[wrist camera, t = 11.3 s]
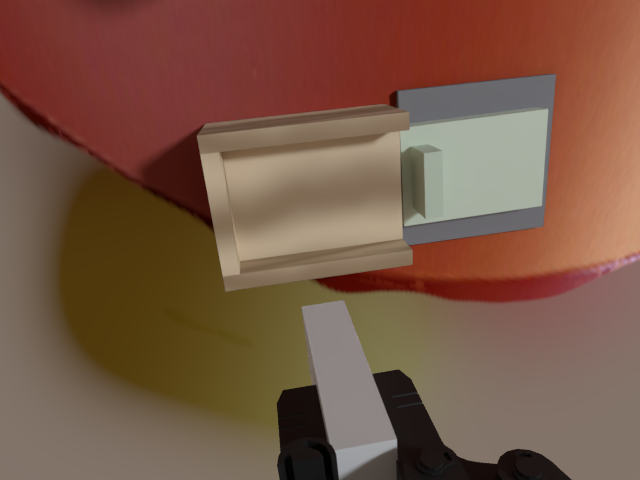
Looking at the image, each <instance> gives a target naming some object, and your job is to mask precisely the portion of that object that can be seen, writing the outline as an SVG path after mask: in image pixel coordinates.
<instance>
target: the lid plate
mask: <svg viewBox="0 0 640 480" xmlns="http://www.w3.org/2000/svg"><path fill="white" fill-rule="evenodd" d="M547 121H548V109H546V108H540V107H534V108H526V109H518V110H511V111H503V112H495V113H487V114H480V115H472V116H464V117H456V118H449V119H441V120H433V121H425V122H418V123H410V124H409V126H410V130H406V131H399V132H400V165H401V197H402V225H403V226H410V225H417V224H424V223H431V222H437V221H444V220H451V219H457V218H464V217H471V216H478V215H484V214H491V213H498V212H505V211H511V210H518V209H525V208H531V207H538V206H542V195H543V181H544V166H545V151H546V136H547Z"/></svg>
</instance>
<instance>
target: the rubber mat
mask: <svg viewBox="0 0 640 480" xmlns="http://www.w3.org/2000/svg"><path fill="white" fill-rule="evenodd" d="M555 80H556V74H547V75H537V76H528V77H519V78H510V79H500V80H491V81H482V82H473V83H463V84H454V85H445V86H436V87H426V88H417V89H408V90H398V91H396V105H397V108H399V109H402V110H405V111H408V112H409V124H410V123H418V122H425V121H433V120H441V119H449V118H456V117H464V116H472V115H480V114H487V113H495V112H503V111H511V110H518V109H526V108H534V107H540V108H546V109H548V121H547V136H546V151H545V166H544V181H543V195H542V206H538V207H531V208H525V209H518V210H511V211H505V212H498V213H491V214H484V215H478V216H471V217H464V218H457V219H451V220H444V221H437V222H431V223H424V224H417V225H410V226H403V225H402V229H403V240H404V241H405V242H406V243H407V244H408V245H414V244H422V243H429V242H436V241H443V240H450V239H457V238H465V237H472V236H479V235H486V234H493V233H500V232H508V231H515V230H522V229H529V228H536V227H543V224H544V212H545V200H546V188H547V176H548V164H549V152H550V140H551V128H552V116H553V104H554V92H555Z"/></svg>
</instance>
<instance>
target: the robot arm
mask: <svg viewBox="0 0 640 480" xmlns="http://www.w3.org/2000/svg"><path fill="white" fill-rule="evenodd" d="M302 313H303V320H304V328H305V336H306V344H307V352H308V360H309V368H310V374H311V379H312V384H313V385H312V386H305V387H300V388H295V389H288V390H283V391H282V394H281V396H280V398H279V400H278V402H277V412H278V425H279V438H280V451H281V453H280V454H279V458H278V464H277V467H278V472H279V478H280V480H571V479H570V478H569V477H568V476H567V475H566V474H565V473H564V472H562V471H561V470H560V469H559V468H558V467H557V466H556V465H555V464H554V463H553V462H551V461H550V460H549V459H547V458H546V457H544V456H543V455H541V454H539V453H536V452H533V451H531V450H523V449H516V450H511V451H507V452H506V453H504V454H503V455H502V456H500V459H499V461H498V463H497V464H490V463H480V462H473V461H468V460H465V459H463V458H460V457H458V456H457V455H456V454H455V453H454V451H452V450H451V449H450V448H448V447H447V446H445V445H444V444H443V442H442V441H441V439H440V437H439V435H438V433H437V431H436V428H435V426H434V425H433V422H432V420H431V418H430V416H429V415H428V413H427V410H426V409H425V407H424V405H423V404H422V400H421V398H420V396H419V394H417V390H416V388H415V387H414V384H413V382H412V380H411V379H410V378H409V377H407V376H406V375H405V374H404V373H403V372H401V371H400V370H393V371H387V372H381V373H375V374H372V373H371V370H370V368H369V365H368V362H367V360H366V357H365V354H364V352H363V349H362V347H361V344H360V341H359V339H358V336H357V334H356V331H355V328H354V326H353V323H352V321H351V318H350V315H349V313H348V310H347V307H346V305H345V302H344V300H342V301H336V302H329V303H323V304H317V305H310V306H303V307H302Z"/></svg>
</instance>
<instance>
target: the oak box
mask: <svg viewBox="0 0 640 480" xmlns="http://www.w3.org/2000/svg"><path fill="white" fill-rule="evenodd" d="M406 130H410V126H409V112H408V111H405V110H402V109H399V108H395V107H392V106H389V105H386V104H379V105H370V106H361V107H352V108H343V109H334V110H325V111H316V112H307V113H297V114H288V115H279V116H270V117H261V118H252V119H243V120H234V121H225V122H216V123H207V124H205V125H204V127H203V128H202V129H201V131H200V132H199V133H198V135H197V140H198V145H199V151H200V156H201V162H202V167H203V172H204V178H205V183H206V189H207V194H208V199H209V205H210V210H211V216H212V221H213V227H214V232H215V237H216V243H217V248H218V254H219V259H220V264H221V270H222V275H223V281H224V286H225V291H233V290H239V289H246V288H254V287H260V286H267V285H275V284H281V283H289V282H295V281H302V280H309V279H316V278H323V277H330V276H337V275H344V274H351V273H358V272H365V271H372V270H379V269H386V268H393V267H400V266H407V265H413V254H412V249H411V248H410V247H409V245H408V244H407V243H406V242H405V241H404V240H403V229H402V197H401V165H400V132H399V131H406Z"/></svg>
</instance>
